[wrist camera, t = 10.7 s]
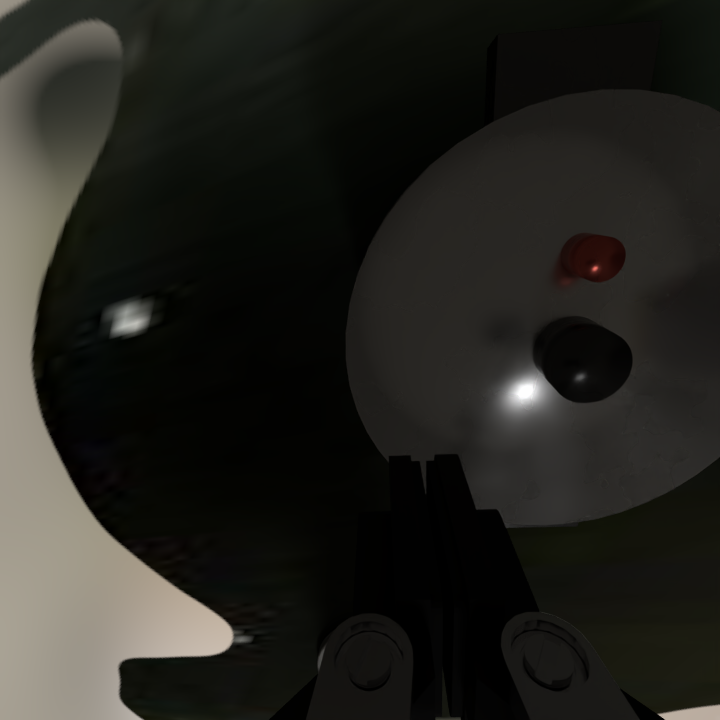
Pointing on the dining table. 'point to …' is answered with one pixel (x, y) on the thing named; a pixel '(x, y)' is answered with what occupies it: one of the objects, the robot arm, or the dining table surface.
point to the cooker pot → (567, 71)
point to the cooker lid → (552, 307)
